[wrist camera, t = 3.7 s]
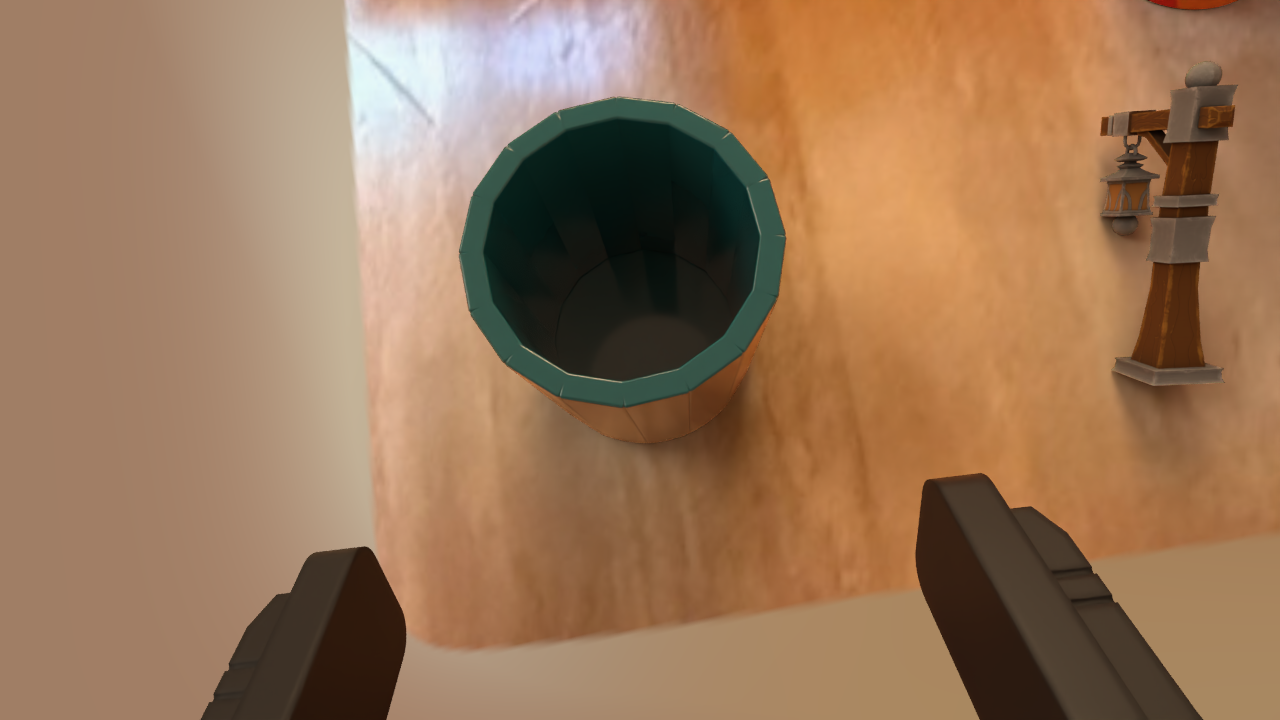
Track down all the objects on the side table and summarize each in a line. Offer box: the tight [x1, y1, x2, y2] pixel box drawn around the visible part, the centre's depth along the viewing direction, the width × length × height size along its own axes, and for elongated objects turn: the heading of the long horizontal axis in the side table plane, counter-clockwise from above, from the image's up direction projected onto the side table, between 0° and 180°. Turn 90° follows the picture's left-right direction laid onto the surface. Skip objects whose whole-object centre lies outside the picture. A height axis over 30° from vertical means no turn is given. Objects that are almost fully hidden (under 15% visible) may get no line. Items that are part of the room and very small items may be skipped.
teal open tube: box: [459, 97, 786, 443], centre depth 17 cm, size 6×6×8 cm
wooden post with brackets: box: [1100, 61, 1238, 386], centre depth 19 cm, size 2×8×4 cm, turn 2°
